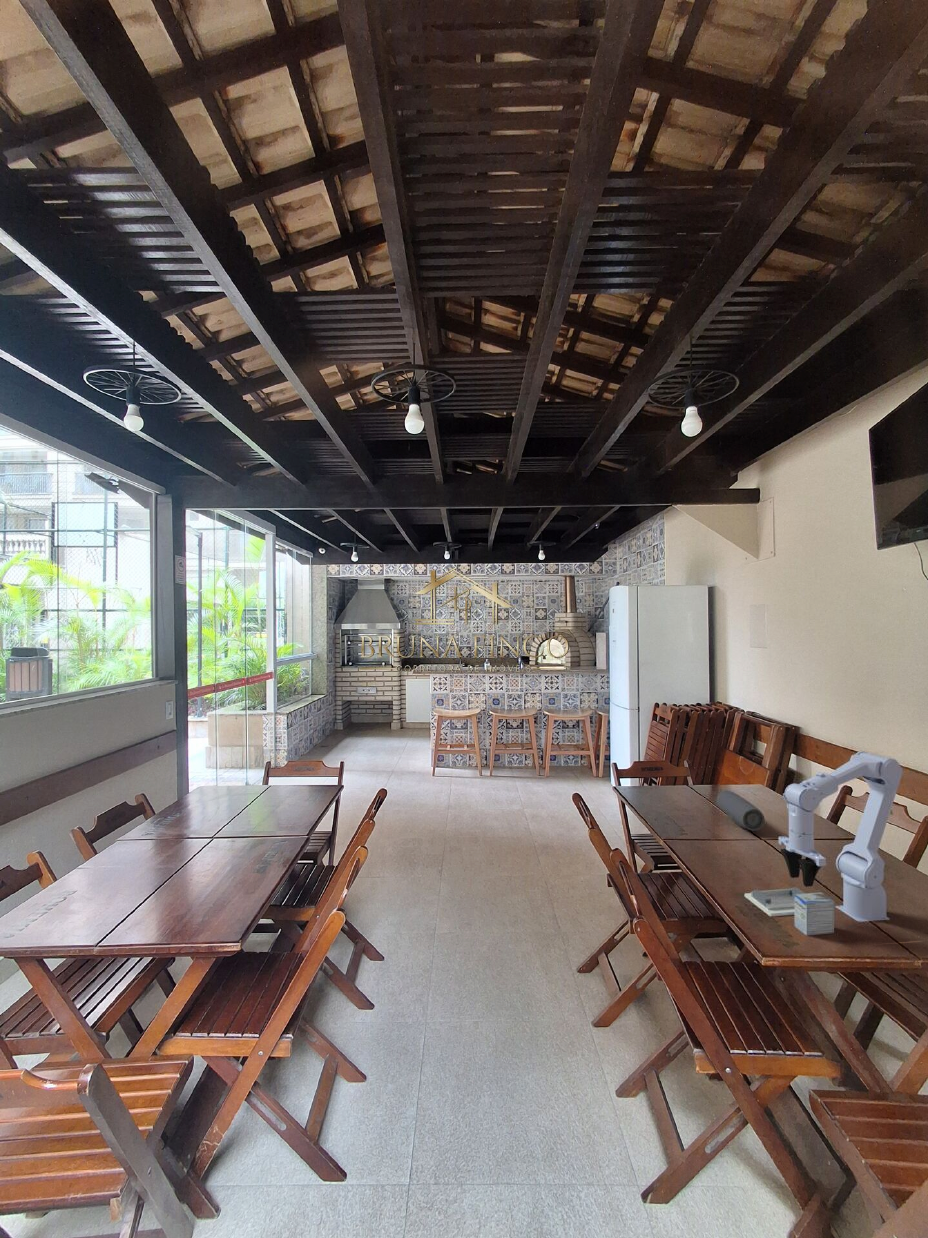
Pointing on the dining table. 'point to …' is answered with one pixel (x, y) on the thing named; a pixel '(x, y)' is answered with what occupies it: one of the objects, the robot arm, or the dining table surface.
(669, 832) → the dining table surface
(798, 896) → the medicine box
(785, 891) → the white flat tray
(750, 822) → the bluetooth speaker
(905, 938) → the dining table surface
